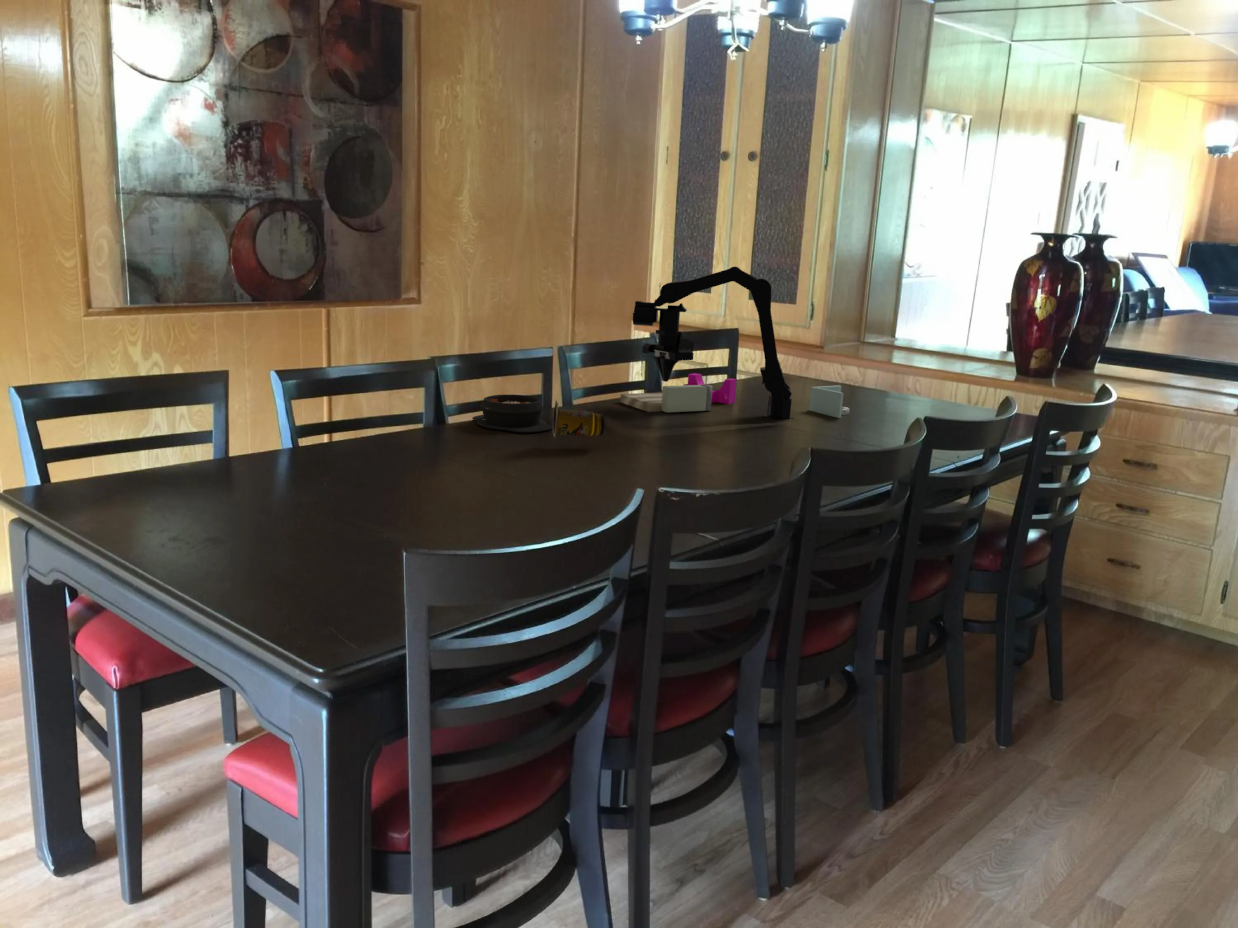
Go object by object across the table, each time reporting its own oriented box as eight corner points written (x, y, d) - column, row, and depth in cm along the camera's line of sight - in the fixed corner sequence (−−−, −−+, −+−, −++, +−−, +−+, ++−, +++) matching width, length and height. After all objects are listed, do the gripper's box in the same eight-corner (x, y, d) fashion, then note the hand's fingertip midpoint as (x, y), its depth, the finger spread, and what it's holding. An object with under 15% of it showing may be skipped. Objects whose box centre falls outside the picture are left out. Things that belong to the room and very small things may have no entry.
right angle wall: (838, 418, 282) (841, 393, 280) (808, 411, 292) (811, 387, 290) (866, 416, 289) (869, 391, 287) (836, 409, 298) (839, 385, 297)
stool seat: (706, 409, 284) (707, 400, 284) (648, 411, 274) (648, 403, 274) (676, 400, 298) (677, 392, 297) (620, 402, 288) (620, 394, 287)
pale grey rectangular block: (706, 408, 284) (708, 384, 282) (712, 410, 281) (714, 386, 279) (660, 410, 276) (662, 386, 274) (667, 412, 273) (668, 387, 272)
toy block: (682, 398, 302) (684, 375, 300) (692, 397, 307) (694, 373, 305) (724, 405, 294) (726, 380, 292) (734, 403, 299) (736, 379, 297)
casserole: (455, 425, 261) (456, 394, 259) (511, 418, 274) (511, 389, 272) (512, 442, 244) (512, 409, 242) (568, 434, 256) (569, 403, 254)
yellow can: (554, 438, 231) (604, 441, 234) (557, 403, 230) (607, 406, 232) (551, 432, 238) (599, 435, 241) (554, 398, 237) (602, 401, 239)
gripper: (710, 330, 273) (707, 385, 276) (674, 324, 289) (671, 376, 292) (677, 330, 267) (674, 386, 271) (642, 324, 283) (639, 377, 287)
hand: (665, 381), depth 280 cm, fingers closed
